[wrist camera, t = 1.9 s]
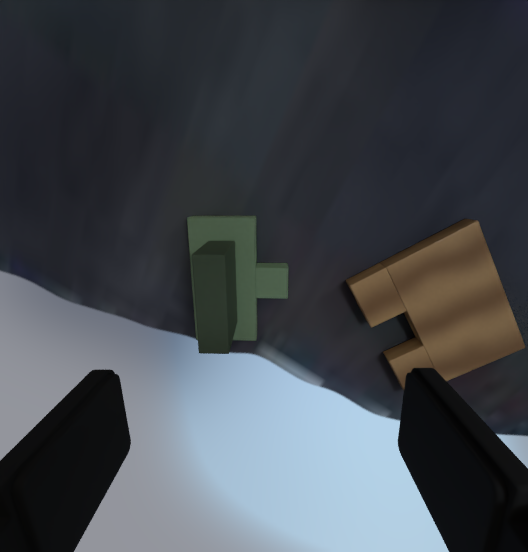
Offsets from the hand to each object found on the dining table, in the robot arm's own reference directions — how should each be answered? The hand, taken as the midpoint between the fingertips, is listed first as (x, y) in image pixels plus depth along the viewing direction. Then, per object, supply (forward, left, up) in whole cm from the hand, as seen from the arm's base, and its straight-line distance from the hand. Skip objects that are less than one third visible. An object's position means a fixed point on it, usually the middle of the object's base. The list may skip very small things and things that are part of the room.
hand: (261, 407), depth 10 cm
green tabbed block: (0, -3, -20) cm, 20 cm away
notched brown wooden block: (+12, +11, -20) cm, 26 cm away
